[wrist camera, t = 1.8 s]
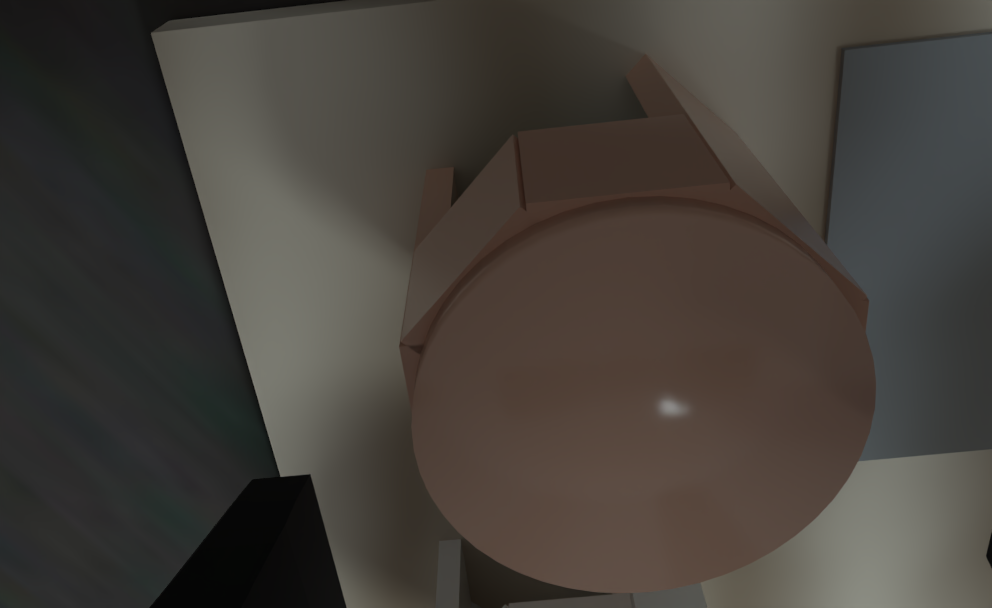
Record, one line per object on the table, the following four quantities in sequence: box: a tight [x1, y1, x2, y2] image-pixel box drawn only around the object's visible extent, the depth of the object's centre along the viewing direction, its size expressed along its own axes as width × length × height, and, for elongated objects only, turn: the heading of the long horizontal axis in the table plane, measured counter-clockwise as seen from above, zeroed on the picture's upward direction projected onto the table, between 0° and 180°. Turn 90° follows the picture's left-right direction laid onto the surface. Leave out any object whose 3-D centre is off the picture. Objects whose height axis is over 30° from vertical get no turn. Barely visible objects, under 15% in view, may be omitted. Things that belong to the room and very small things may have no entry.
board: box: [151, 0, 992, 608], centre depth 19 cm, size 22×19×1 cm
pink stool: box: [399, 54, 876, 593], centre depth 13 cm, size 6×6×7 cm
